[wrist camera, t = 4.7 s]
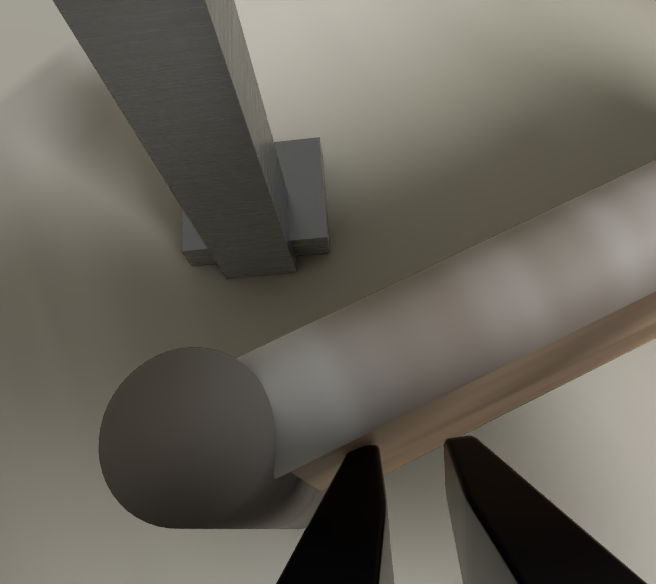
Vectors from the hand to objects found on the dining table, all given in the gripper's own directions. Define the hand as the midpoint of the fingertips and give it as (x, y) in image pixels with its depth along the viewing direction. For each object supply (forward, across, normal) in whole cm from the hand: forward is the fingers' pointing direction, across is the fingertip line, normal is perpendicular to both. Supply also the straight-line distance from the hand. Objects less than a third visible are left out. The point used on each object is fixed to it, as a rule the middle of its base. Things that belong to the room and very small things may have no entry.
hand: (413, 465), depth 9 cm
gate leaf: (+6, -3, +2) cm, 7 cm away
